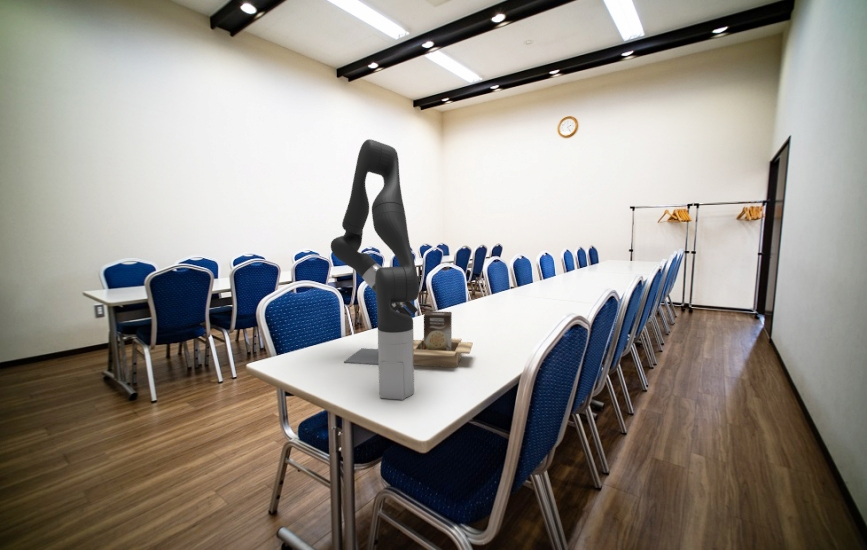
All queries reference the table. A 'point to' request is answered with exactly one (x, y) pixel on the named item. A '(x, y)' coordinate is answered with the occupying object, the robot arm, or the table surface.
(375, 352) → the mat
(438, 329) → the coffee box
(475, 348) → the table surface
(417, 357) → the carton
